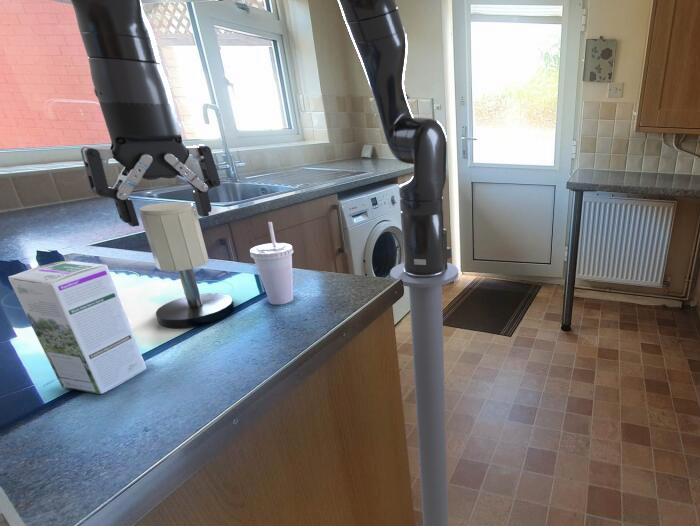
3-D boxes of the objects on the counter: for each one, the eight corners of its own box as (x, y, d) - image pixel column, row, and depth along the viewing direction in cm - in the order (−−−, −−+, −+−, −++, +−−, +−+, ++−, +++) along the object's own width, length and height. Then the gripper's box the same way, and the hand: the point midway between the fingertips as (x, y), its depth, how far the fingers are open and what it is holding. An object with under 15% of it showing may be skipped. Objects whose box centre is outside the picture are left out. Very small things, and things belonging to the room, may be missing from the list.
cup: (197, 255, 67) (182, 200, 64) (215, 263, 64) (201, 206, 60) (150, 264, 62) (132, 206, 59) (167, 274, 59) (148, 213, 56)
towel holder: (218, 296, 73) (193, 200, 66) (245, 311, 68) (221, 210, 61) (148, 315, 65) (112, 210, 59) (173, 335, 60) (137, 222, 53)
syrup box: (149, 368, 52) (110, 262, 47) (99, 397, 47) (49, 280, 41) (111, 362, 53) (69, 257, 48) (58, 390, 48) (3, 275, 42)
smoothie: (307, 300, 73) (295, 223, 67) (269, 311, 68) (252, 230, 63) (292, 290, 77) (278, 216, 71) (254, 299, 72) (237, 222, 67)
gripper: (70, 97, 47) (116, 234, 53) (210, 103, 58) (235, 216, 64) (52, 96, 50) (98, 224, 57) (187, 102, 62) (213, 209, 68)
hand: (170, 220), depth 60 cm, fingers open, 8 cm apart
